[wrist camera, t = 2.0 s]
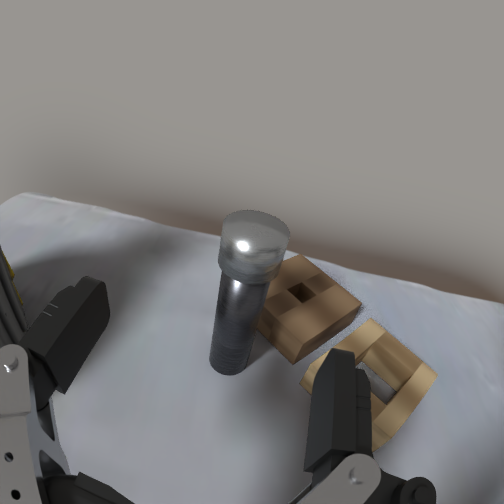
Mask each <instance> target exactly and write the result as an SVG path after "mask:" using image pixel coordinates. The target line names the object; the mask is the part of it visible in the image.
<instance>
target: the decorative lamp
mask: <svg viewBox="0 0 504 504" xmlns="http://www.w3.org/2000/svg"><path fill="white" fill-rule="evenodd" d="M14 275H15V274H14V273H13V271H12V269H11V267H10V265H9V263H8V261H7V259H6V257H5V255H4V253H3V251H2V249H1V246H0V348H2V347H3V346H6V345H9V344H15V345H16V344H17V343H18V342H19V341H20V340H21V339H22V337H23V336H24V335H25V334H26V330H27V322H26V320H25V317H24V316H25V314H24V310H23V308H22V305H23V303H22V300H21V298H20V296H19V294H18V292H17V290H16V288H15V285H14V283H13V281H12V280H13V278H14Z"/></svg>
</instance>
